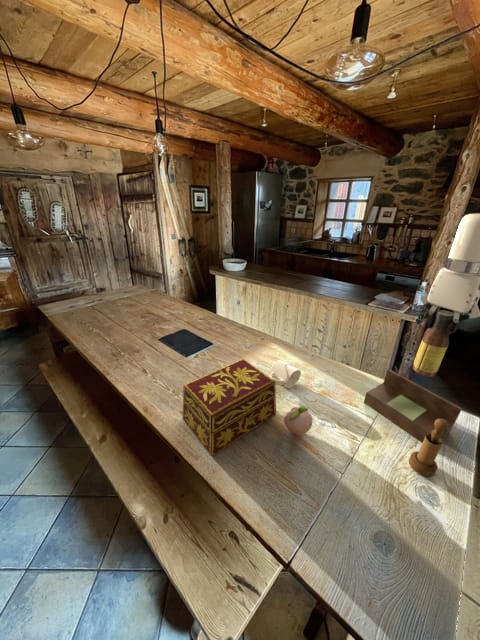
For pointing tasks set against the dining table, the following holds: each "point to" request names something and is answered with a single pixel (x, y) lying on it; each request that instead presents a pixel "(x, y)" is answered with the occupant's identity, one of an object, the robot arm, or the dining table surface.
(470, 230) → the robot arm
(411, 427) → the shelf
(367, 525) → the dining table surface
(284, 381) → the mug
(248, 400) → the decorative box
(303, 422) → the decorative fruit
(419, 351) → the sauce bottle
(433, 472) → the mortar and pestle
